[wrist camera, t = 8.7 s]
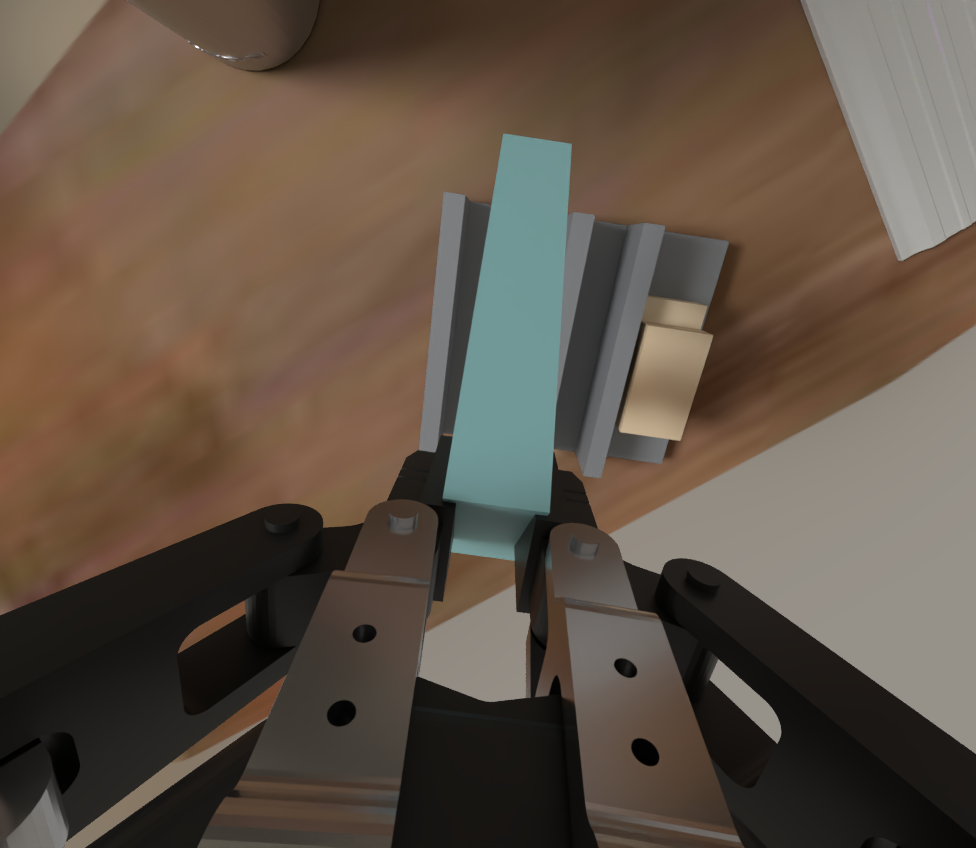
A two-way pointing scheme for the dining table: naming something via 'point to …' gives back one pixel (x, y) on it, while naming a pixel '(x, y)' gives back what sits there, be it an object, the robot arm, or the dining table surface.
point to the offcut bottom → (674, 312)
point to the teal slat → (512, 355)
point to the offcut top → (662, 380)
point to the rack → (569, 321)
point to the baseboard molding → (907, 107)
